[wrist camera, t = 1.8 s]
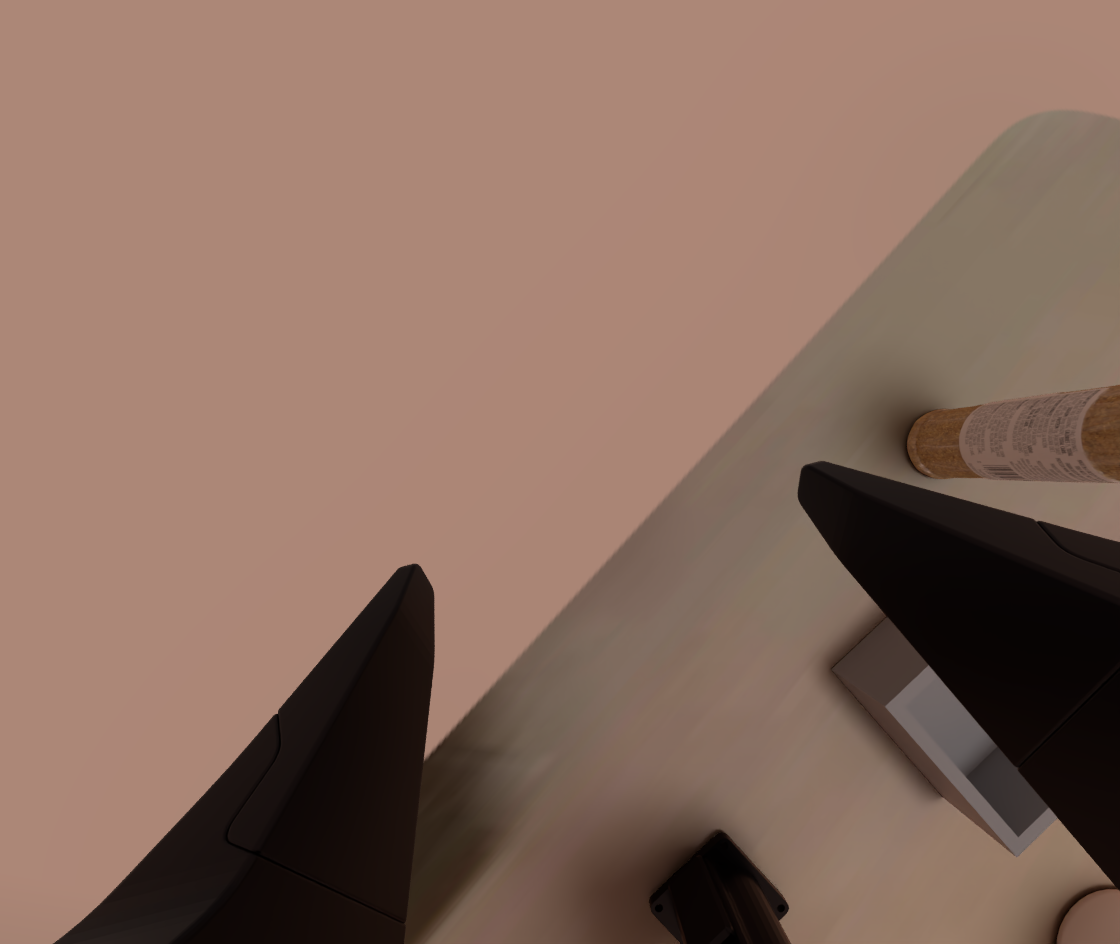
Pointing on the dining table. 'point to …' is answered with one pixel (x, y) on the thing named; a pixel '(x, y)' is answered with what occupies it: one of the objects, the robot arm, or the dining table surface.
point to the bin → (942, 738)
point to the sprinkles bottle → (1024, 439)
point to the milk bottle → (1093, 920)
